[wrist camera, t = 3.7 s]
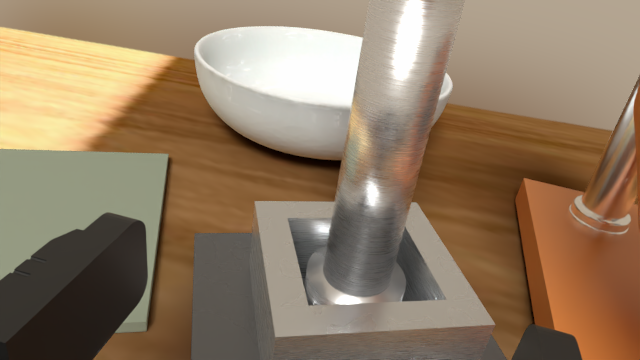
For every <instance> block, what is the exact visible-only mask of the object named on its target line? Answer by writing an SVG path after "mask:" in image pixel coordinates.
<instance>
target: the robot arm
mask: <svg viewBox="0 0 640 360" xmlns="http://www.w3.org/2000/svg"><path fill="white" fill-rule="evenodd" d="M147 281H148V266H147V243H146V227H145V224H144V223H143V222H142V221H140V220H137V219H133V218H129V217H125V216H122V215H118V214H114V213H110V212H107V213H104V214H103V215H101V216H100V217H99V218H97V219H96V220H95V221H94V222H93V223H91V224H90V225H89V226H88V227H87V228H85V229H84V230H80V229H75V230H73V231H70V232H68V233H66V234H64V235H61V236H59V237H57V238H54V239H52V240H50V241H49V242H48V243H46V244H45V245H44V246H43V247H41V248H40V249H39V250H38V251H36V252H35V253H34V254H33V255H31V258H30V259H26V260H25V261H24V262H23V263H21V264H20V265H19V266H18V267H16V268H15V269H14V272H13V273H9V274H7V275H6V276H5V277H4V278H2V279H1V280H0V360H93V358H94V357H95V356H96V355H97V353H98V352H99V351H100V350H101V349H102V347H103V346H104V345H105V344H106V343H107V341H108V340H109V339H110V338H111V336H112V335H113V334H114V333H115V332H116V330H117V329H118V328H119V327H120V326H121V324H122V323H123V322H124V321H125V319H126V318H127V317H128V316H129V315H130V313H131V312H132V311H133V310H134V309H135V307H136V306H137V305H138V303H139V302H140V300H141V298H142V297H143V294H144V292H145V289H146V286H147ZM512 360H582V356H581V353H580V350H579V346H578V343H577V340H576V338H575V337H574V336H573V335H572V334H568V333H564V332H560V331H557V330H553V329H549V328H546V327H542V326H538V325H534V324H531V325H529V326H528V327H527V329H526V330H525V332H524V334H523V337H522V339H521V341H520V343H519V345H518V347H517V349H516V351H515V353H514V355H513V358H512Z"/></svg>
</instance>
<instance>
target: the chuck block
mask: <svg viewBox="0 0 640 360" xmlns="http://www.w3.org/2000/svg"><path fill="white" fill-rule="evenodd" d="M333 207H334V202H297V201H255V204H254V216H253V227H252V233H195V242H194V276H193V310H192V344H191V360H507V359H506V357H505V356H504V354H503V353H502V351H501V349H500V348H499V346H498V345H497V343H496V341H495V340H494V338H493V337H492V335H491V334H492V332H493V329H494V327H495V323H494V322H493V320H492V319H491V317H490V315H489V314H488V312H487V311H486V309H485V308H484V306H483V305H482V303H481V301H480V300H479V298H478V297H477V295H476V294H475V292H474V291H473V289H472V288H471V286H470V284H469V283H468V281H467V280H466V278H465V277H464V275H463V274H462V272H461V271H460V269H459V267H458V266H457V264H456V263H455V261H454V260H453V258H452V257H451V255H450V253H449V252H448V250H447V249H446V247H445V246H444V244H443V243H442V241H441V240H440V238H439V236H438V235H437V233H436V232H435V230H434V229H433V227H432V226H431V224H430V222H429V221H428V219H427V218H426V216H425V215H424V213H423V212H422V210H421V209H420V207H419V205H418V204H417V202H411V205H410V209H409V213H408V217H407V220H406V224H405V228H404V232H403V235H402V239H401V243H400V247H399V250H398V254H397V258H396V262H397V263H398V265H399V266H400V267H401V269H402V270H403V272H404V275H405V278H406V288H405V292H404V296H403V299H402V302H381V303H357V304H334V305H310V306H309V305H308V301H307V297H306V293H305V289H304V283H305V276H306V270H307V264H308V261H309V259H310V257H311V256H312V254H313V253H314V252H315V251H317V250H318V249H320V248H322V247H324V246H326V245H327V241H328V236H329V230H330V224H331V218H332V213H333Z"/></svg>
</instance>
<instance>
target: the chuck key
mask: <svg viewBox="0 0 640 360" xmlns="http://www.w3.org/2000/svg"><path fill="white" fill-rule="evenodd" d="M464 2H465V0H370V1H369V6H368V12H367V17H366V23H365V29H364V35H363V40H362V46H361V52H360V58H359V63H358V69H357V75H356V80H355V86H354V92H353V98H352V103H351V109H350V115H349V121H348V126H347V132H346V138H345V144H344V149H343V155H342V161H341V167H340V172H339V178H338V184H337V190H336V195H335V201H334V207H333V213H332V218H331V224H330V230H329V236H328V241H327V245H326V246H324V247H322V248H320V249H318V250H317V251H315V252H314V253H313V254H312V256H311V257H310V259H309V261H308V264H307V270H306V276H305V283H304V289H305V293H306V297H307V301H308V305H309V306H310V305H334V304H357V303H381V302H402V299H403V296H404V292H405V288H406V278H405V275H404V272H403V270H402V269H401V267H400V266H399V265H398V263H397V262H396V258H397V254H398V250H399V247H400V243H401V239H402V235H403V232H404V228H405V224H406V220H407V217H408V213H409V209H410V205H411V201H412V198H413V194H414V190H415V186H416V183H417V179H418V175H419V171H420V168H421V164H422V160H423V156H424V153H425V149H426V145H427V141H428V138H429V134H430V130H431V126H432V122H433V119H434V115H435V111H436V107H437V104H438V100H439V96H440V92H441V89H442V85H443V81H444V77H445V74H446V70H447V66H448V62H449V58H450V55H451V50H452V47H453V43H454V40H455V36H456V32H457V28H458V25H459V21H460V17H461V13H462V10H463V5H464Z"/></svg>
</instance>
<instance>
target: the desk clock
mask: <svg viewBox="0 0 640 360" xmlns="http://www.w3.org/2000/svg"><path fill="white" fill-rule="evenodd" d="M637 196H638V205H636V204H634V202H635V200H636V198H637ZM515 201H516V208H517V214H518V220H519V226H520V233H521V239H522V245H523V252H524V258H525V264H526V270H527V277H528V283H529V289H530V295H531V302H532V308H533V314H534V320H535V325H538V326H542V327H546V328H549V329H553V330H557V331H560V332H564V333H568V334H572V335H573V336H574V337H575V338H576V340H577V343H578V346H579V350H580V353H581V356H582V360H640V75H639V77H638V80H637V82H636V84H635V86H634V88H633V90H632V92H631V94H630V96H629V99H628V101H627V103H626V105H625V107H624V109H623V111H622V113H621V115H620V117H619V120H618V122H617V124H616V126H615V128H614V130H613V132H612V134H611V136H610V139H609V141H608V143H607V145H606V147H605V149H604V151H603V153H602V155H601V158H600V160H599V162H598V164H597V166H596V168H595V170H594V172H593V175H592V177H591V179H590V181H589V183H588V185H587V187H586V189H585V191H584V192H581V191H577V190H573V189H568V188H564V187H560V186H556V185H551V184H547V183H543V182H539V181H535V180H530V179H526V178H523V181H522V184H521V186H520V189H519V191H518V194H517V196H516V199H515Z"/></svg>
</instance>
